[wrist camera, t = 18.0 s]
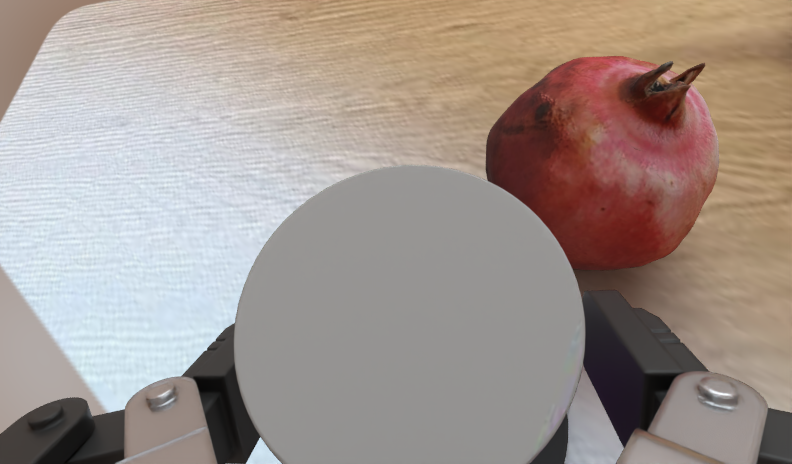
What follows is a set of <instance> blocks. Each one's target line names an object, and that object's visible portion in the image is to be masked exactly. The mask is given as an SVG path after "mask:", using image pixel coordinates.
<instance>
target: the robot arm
mask: <svg viewBox="0 0 792 464" xmlns="http://www.w3.org/2000/svg"><path fill="white" fill-rule="evenodd" d="M582 303H583V309H584V317H585V352H584V359H583V364H584V367H585V370H586V372H587V374H588V376H589V378H590V380H591V382H592V384H593V386H594V388H595V390H596V392H597V394H598V396H599V398H600V400H601V402H602V404H603V406H604V408H605V410H606V412H607V414H608V417H609V419H610V421H611V423H612V425H613V427H614V429H615V431H616V433H617V435H618V437H619V439H620V441H621V443H622V445H623V447H624V450H623V451H622V453H621V455H620V457H619V459H618V460H617V462H616V464H792V413H790V412H785V411H780V410H775V409H771V408H768V406H767V403H766V401H765V399H764V398H763V397H762V396H761V395H760V394H759V393H758V392H757V391H756V390H754V389H753V388H751V387H750V386H748V385H747V384H745V383H743V382H741V381H739V380H736V379H734V378H731V377H728V376H725V375H721V374H718V373H712V372H709V371H708V370H707V369H706V367H705V366H704V365H703V364H702V363H701V362H700V361H699V360H698V359H697V358H696V357H695V356H694V355H693V353H692V352H691V351H690V350H689V349H688V348H687V347H686V346H685V345H684V344H683V343H680V339H679V338H678V337H677V336H676V335H675V334H674V333H671V330H670V329H669V328H668V327H667V326H666V324H665V323H664V322H663V321H662V320H661V319H660V318H659V317H657V316H655V315H653V314H651V313H649V312H647V311H646V310H644V309H642V308H632V307H631V306H630V305H629V304H628V302H627V301H626V300H625V299H624V298H623V296H622V295H621V294H620V293H619V292H618V291H617V290H598V291H585V292H584V294H583V300H582ZM234 330H235V323H234V324H232V325H231V326H229V327H227V328H226V329H225V330H224V331H223V332H222V333H221V334H220V335H219V336H218V337H217V339H216V342H213V343H212V344H211V345H210V346H209V347H208V348H207V351H204V352H203V354H202V355H201V356H200V357H199V358H198V359H197V360H196V361H195V362H194V363H193V364H192V365H191V366H190V368H189V369H188V370H187V371H186V372H185V373H184V374H183V375H182V376H181V377H171V378H167V379H163V380H160V381H157V382H155V383H153V384H150V385H148V386H147V387H145V388H143V389H142V390H140V391H139V392H137V393H136V394H135V395H134V396H133V397H132V398H131V399H130V400H129V401H128V403H127V404H126V407H125V410H120V411H115V412H111V413H106V414H102V415H97V416H92V415H91V412H90V409H89V406H88V404H87V401H86V400H84V399H82V398H66V399H61V400H57V401H54V402H51V403H48V404H45V405H43V406H41V407H39V408H36V409H34V410H33V411H31V412H29V413H27V414H26V415H24V416H23V417H21V418H20V419H19V420H17V421H16V422H15V423H13V424H12V425H11V426H10V427H8V428H7V429H6V430H5V431H4V432H2V433H1V434H0V464H246V462H247V460H248V458H249V457H250V455H251V453H252V451H253V449H254V447H255V445H256V444H257V442H258V440H259V438H260V435H259V433H258V432H257V430H256V428H255V427H254V425H253V423H252V421H251V419H250V417H249V414H248V412H247V410H246V407H245V405H244V402H243V399H242V396H241V393H240V389H239V385H238V381H237V375H236V369H235V360H234Z"/></svg>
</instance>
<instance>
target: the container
mask: <svg viewBox="0 0 792 464" xmlns="http://www.w3.org/2000/svg"><path fill="white" fill-rule="evenodd" d="M584 352H585V317H584V309H583V303H582V298H581V294H580V290H579V287H578V283H577V280H576V277H575V274H574V272H573V269H572V267H571V265H570V263H569V261H568V259H567V257H566V255H565V253H564V251H563V249H562V248H561V246H560V244H559V243H558V241H557V239H556V238H555V237H554V235H553V234H552V233H551V231H550V230H549V229H548V227H547V226H546V225H545V224H544V223H543V222H542V221H541V219H540V218H539V217H538V216H537V215H536V214H535V213H534V212H533V211H532V210H531V209H530V208H528V207H527V206H526V205H525V204H523V203H522V202H521V201H520V200H518V199H517V198H516V197H514V196H513V195H511V194H510V193H508V192H507V191H505V190H504V189H502V188H500V187H498V186H496V185H494V184H493V183H491V182H489V181H486V180H484V179H482V178H479V177H477V176H474V175H471V174H468V173H465V172H461V171H458V170H454V169H449V168H443V167H437V166H428V165H403V166H392V167H385V168H380V169H375V170H371V171H367V172H364V173H361V174H358V175H355V176H352V177H349V178H347V179H344V180H342V181H340V182H338V183H336V184H334V185H332V186H330V187H328V188H326V189H324V190H323V191H321V192H320V193H318V194H317V195H315V196H313V197H312V198H310V199H309V200H307V201H306V202H305V203H304V204H302V205H301V206H300V207H299V208H297V209H296V210H295V211H294V212H293V213H292V214H291V215H290V216H289V217H288V218H287V219H286V220H285V221H284V222H283V223H282V224H281V225H280V226H279V227H278V228H277V229H276V231H275V232H274V233H273V234H272V236H271V237H270V238H269V240H268V241H267V242H266V244H265V245H264V247H263V248H262V250H261V252H260V253H259V255H258V256H257V258H256V260H255V262H254V264H253V266H252V268H251V270H250V272H249V275H248V277H247V280H246V282H245V285H244V287H243V291H242V294H241V297H240V300H239V304H238V309H237V314H236V319H235V330H234V360H235V369H236V375H237V381H238V385H239V389H240V393H241V396H242V399H243V402H244V405H245V407H246V410H247V412H248V414H249V417H250V419H251V421H252V423H253V425H254V427H255V428H256V430H257V432H258V433H259V435H260V437H261V438H262V440H263V441H264V442H265V444H266V445H267V447H268V448H269V449H270V451H271V452H272V453H273V454H274V455H275V456H276V458H277V459H278V460H279V461H280V462H281V463H282V464H530V463H531V462H532V461H533V460H534V459H535V458H536V456H537V455H538V454H539V453H540V452H541V451H542V450H543V449H544V448H545V446H546V445H547V444H548V442H549V441H550V440H551V438H552V437H553V436H554V434H555V433H556V431H557V429H558V428H559V426H560V425H561V423H562V421H563V419H564V417H565V415H566V413H567V412H568V410H569V408H570V405H571V402H572V400H573V397H574V395H575V392H576V389H577V386H578V383H579V379H580V376H581V371H582V366H583V359H584Z"/></svg>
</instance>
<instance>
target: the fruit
mask: <svg viewBox="0 0 792 464" xmlns="http://www.w3.org/2000/svg"><path fill="white" fill-rule="evenodd" d="M672 65H673V61H670V62H667V63H665V64H663V65H661V66H660V65H657V64H653V63H649V62H645V61H640V60H636V59H632V58H628V57H624V56H607V57H583V58H578V59H574V60H571V61H569V62H566V63H564V64H562V65H560V66H558V67H556V68H554V69H553V70H552V71H550V72H549V73H548V74H547V75H546V76H545V77H544V78H543V79H542V80H540V81H539V82H538V83H536V84H535V85H534V86H532V87H531V88H530V89H528V90H527V91H525V92H524V93H523V94H522V95H520V96H519V97H518V98H517V99H516V100H515V101H514V102H513V104H512V105H511V106H510V107H509V108H508V109H507V110H506V111H505V112H504V113H503V114H502V116H501V117H500V118H499V119H498V120H497V122H496V123H495V124H494V126H493V127H492V129H491V130H490V132H489V135H488V139H487V145H486V174H487V179H488V181H489V182H491V183H493V184H494V185H496V186H498V187H500V188H502V189H504V190H505V191H507V192H508V193H510V194H511V195H513V196H514V197H516V198H517V199H518V200H520V201H521V202H522V203H523V204H525V205H526V206H527V207H528V208H530V209H531V210H532V211H533V212H534V213H535V214H536V215H537V216H538V217H539V218H540V219H541V221H542V222H543V223H544V224H545V225H546V226H547V227H548V229H549V230H550V231H551V233H552V234H553V235H554V237H555V238H556V239H557V241H558V243H559V244H560V246H561V248H562V249H563V251H564V253H565V255H566V257H567V259H568V261H569V263H570V265H571V267H572V269H579V270H616V269H623V268H632V267H639V266H643V265H646V264H648V263H651V262H653V261H655V260H658V259H661V258H663V257H665V256H667V255H668V254H670V253H671V252H673V251H674V250H675V249H676V248H677V247H678V245H679V244H680V243H681V241H682V240H683V239H684V237H685V236H686V235H687V234H688V233H689V231H690V230H691V228H692V227H693V225H694V223H695V221H696V219H697V217H698V215H699V213H700V211H701V208H702V206H703V204H704V203H705V201H706V199H707V198H708V196H709V194H710V193H711V191H712V189H713V187H714V184H715V181H716V178H717V172H718V166H719V146H718V138H717V134H716V130H715V127H714V125H713V122H712V119H711V116H710V113H709V109H708V107H707V104H706V102H705V100H704V99H703V97H702V96H701V95H700V93H699V92H698V90H697V89H696V88H695V86H694V85H693V84H692V83H691V82H693V81H694V80H695V78H696V77H697V76H698V75H699V73H700V72H701V71H702V70H703V68H704V67H705V63H702V64H700V65H697V66H694V67H692V68H690V69H688V70H686V71H685V72H683V73H682V74H680V75H678V74H676V73H674V72H672V71H670V69H671V67H672Z"/></svg>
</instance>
